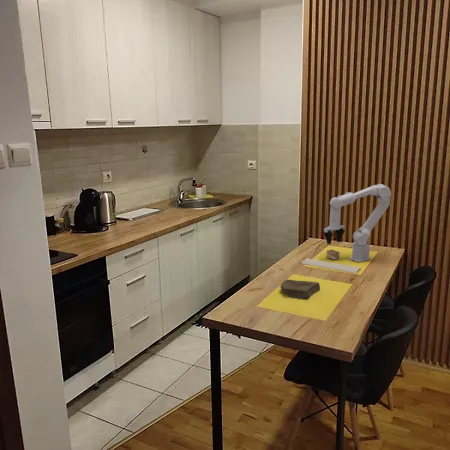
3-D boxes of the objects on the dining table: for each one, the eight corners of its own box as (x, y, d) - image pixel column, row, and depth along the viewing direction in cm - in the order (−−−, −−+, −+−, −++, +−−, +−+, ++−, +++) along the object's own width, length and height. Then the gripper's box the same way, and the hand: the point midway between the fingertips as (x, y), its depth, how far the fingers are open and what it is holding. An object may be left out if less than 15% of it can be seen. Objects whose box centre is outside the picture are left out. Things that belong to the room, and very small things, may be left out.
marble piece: (320, 289, 196) (320, 281, 195) (315, 301, 183) (315, 292, 182) (284, 284, 202) (285, 276, 201) (277, 296, 189) (277, 287, 188)
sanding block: (331, 256, 244) (331, 249, 243) (339, 259, 239) (339, 252, 238) (326, 258, 242) (326, 250, 241) (334, 260, 237) (334, 253, 236)
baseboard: (355, 275, 215) (360, 270, 224) (355, 270, 215) (360, 265, 223) (299, 265, 231) (306, 260, 239) (299, 260, 230) (306, 255, 239)
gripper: (338, 216, 242) (336, 239, 245) (320, 219, 234) (319, 243, 238) (348, 218, 237) (346, 242, 240) (330, 221, 229) (328, 246, 232)
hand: (333, 242), depth 238 cm, fingers open, 7 cm apart
